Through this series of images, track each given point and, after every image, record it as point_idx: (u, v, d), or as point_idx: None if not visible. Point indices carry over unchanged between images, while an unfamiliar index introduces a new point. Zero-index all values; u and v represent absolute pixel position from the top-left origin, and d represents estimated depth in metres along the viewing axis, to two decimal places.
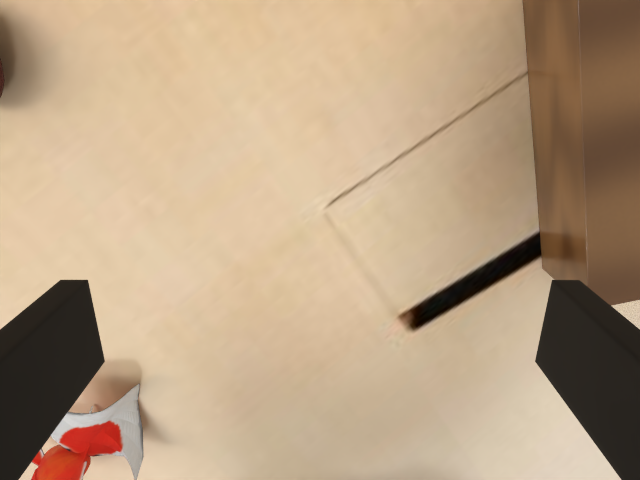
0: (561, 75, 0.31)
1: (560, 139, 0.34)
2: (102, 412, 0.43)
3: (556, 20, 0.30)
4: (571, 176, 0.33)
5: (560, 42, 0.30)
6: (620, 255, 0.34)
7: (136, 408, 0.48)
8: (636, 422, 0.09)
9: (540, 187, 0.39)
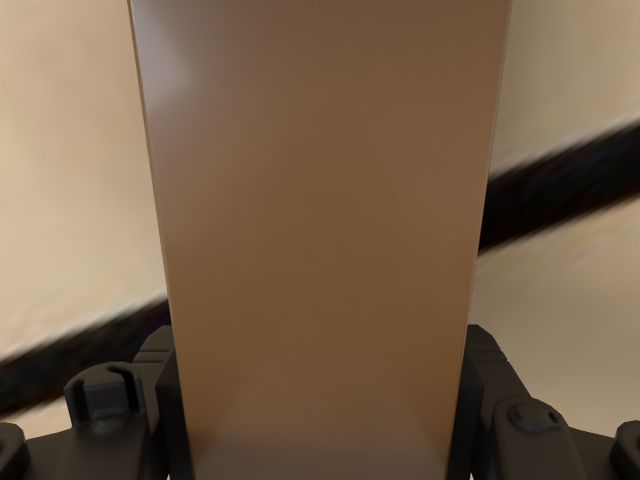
0: None
1: None
2: None
3: None
4: None
5: None
6: (330, 436, 0.08)
7: None
8: None
9: None
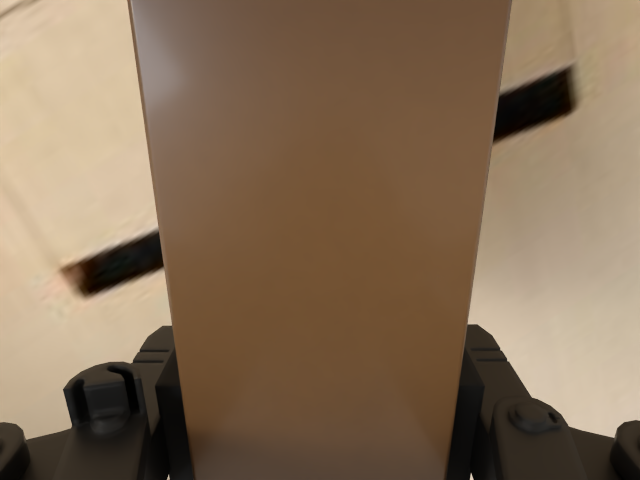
0: None
1: None
2: None
3: None
4: None
5: None
6: (329, 435, 0.08)
7: None
8: None
9: None
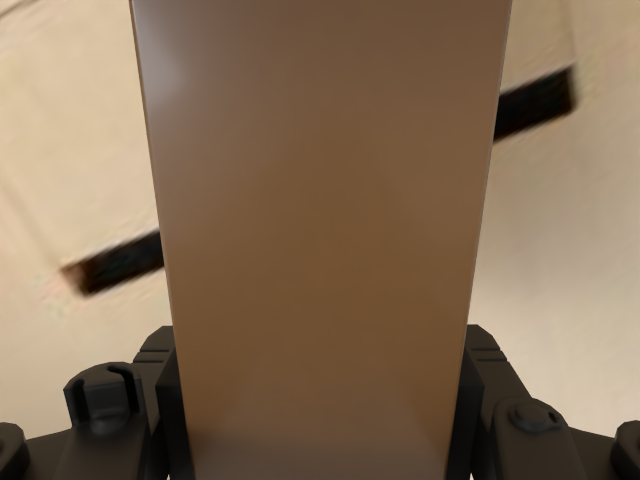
0: None
1: None
2: None
3: None
4: None
5: None
6: (330, 433, 0.08)
7: None
8: None
9: None
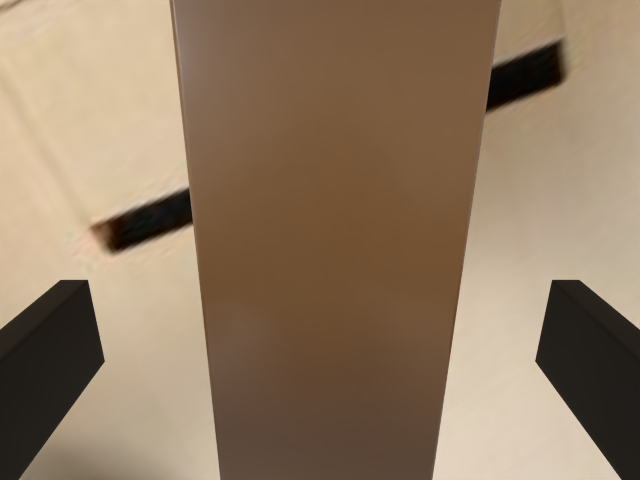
0: None
1: None
2: None
3: None
4: None
5: None
6: (338, 333, 0.08)
7: None
8: (635, 422, 0.09)
9: None
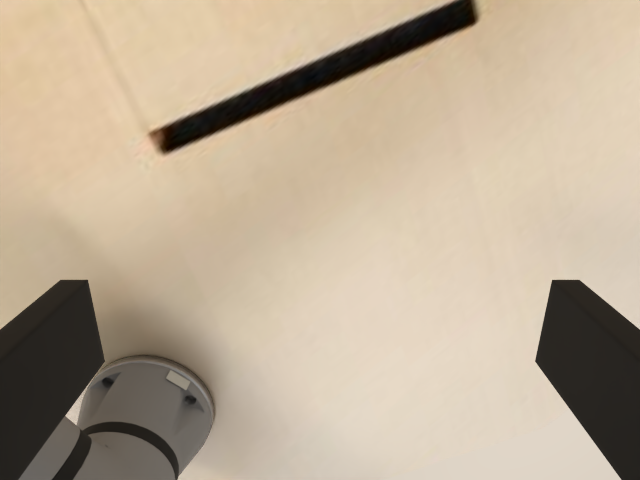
0: None
1: None
2: None
3: None
4: None
5: None
6: None
7: None
8: (636, 421, 0.09)
9: None
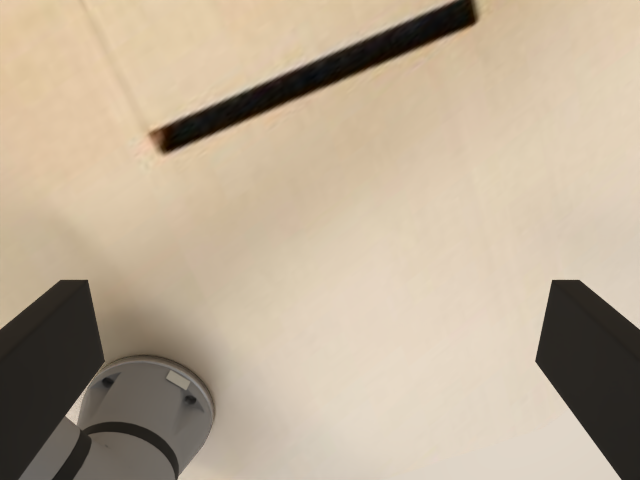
0: None
1: None
2: None
3: None
4: None
5: None
6: None
7: None
8: (636, 421, 0.09)
9: None
